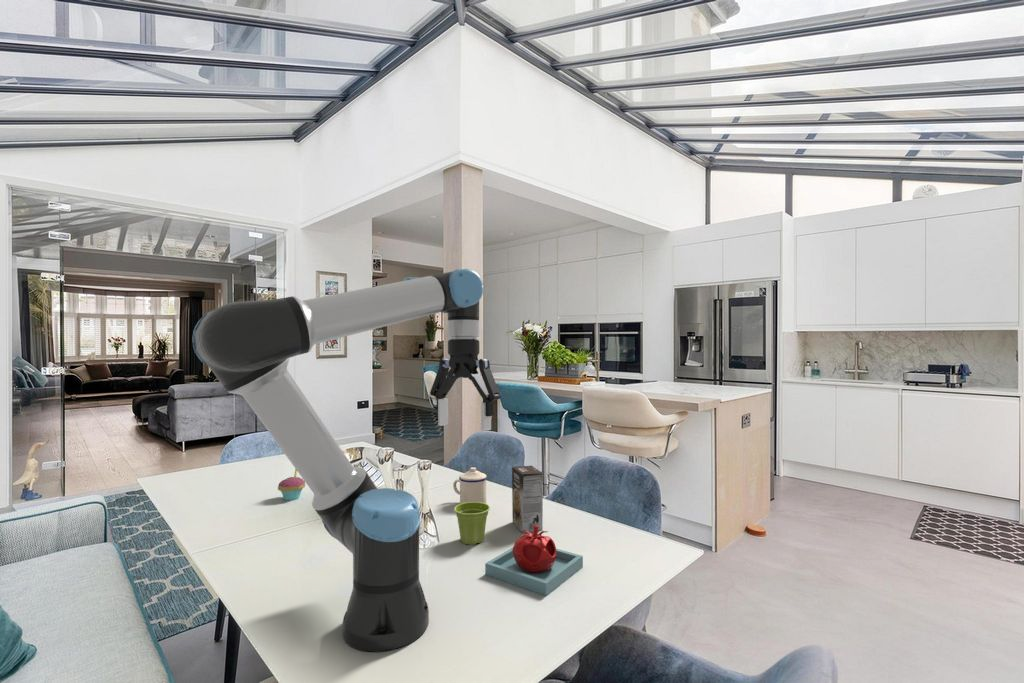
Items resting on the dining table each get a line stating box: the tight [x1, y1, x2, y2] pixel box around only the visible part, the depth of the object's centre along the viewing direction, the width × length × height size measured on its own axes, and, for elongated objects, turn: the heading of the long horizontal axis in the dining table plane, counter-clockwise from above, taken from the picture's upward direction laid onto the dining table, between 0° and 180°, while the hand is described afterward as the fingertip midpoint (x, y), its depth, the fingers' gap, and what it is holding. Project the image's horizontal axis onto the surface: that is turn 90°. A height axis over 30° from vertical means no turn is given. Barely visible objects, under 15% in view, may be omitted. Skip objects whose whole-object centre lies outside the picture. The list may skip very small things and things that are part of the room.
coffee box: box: [511, 465, 544, 533], centre depth 137 cm, size 9×6×16 cm
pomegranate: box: [512, 525, 557, 573], centre depth 109 cm, size 10×10×9 cm
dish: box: [484, 547, 584, 597], centre depth 109 cm, size 16×16×2 cm
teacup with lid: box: [452, 467, 488, 504], centre depth 157 cm, size 12×9×12 cm
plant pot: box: [453, 502, 491, 546], centre depth 126 cm, size 9×9×9 cm
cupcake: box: [277, 467, 306, 501], centre depth 163 cm, size 9×8×12 cm
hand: (463, 427), depth 114 cm, fingers open, 13 cm apart
